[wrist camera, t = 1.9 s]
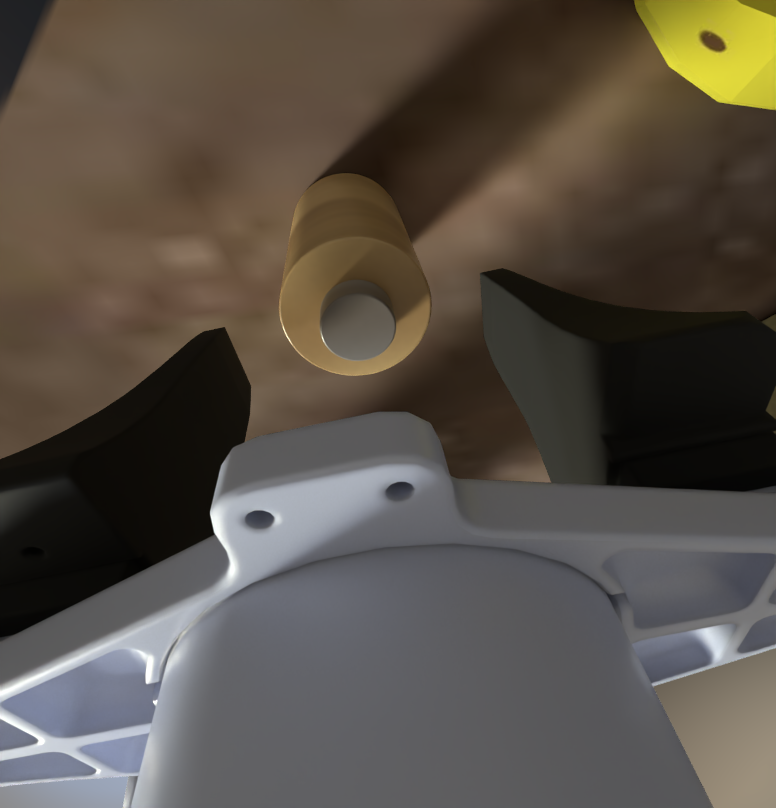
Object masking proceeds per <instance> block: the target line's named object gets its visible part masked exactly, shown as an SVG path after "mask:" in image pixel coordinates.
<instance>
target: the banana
mask: <svg viewBox="0 0 776 808" xmlns="http://www.w3.org/2000/svg"><path fill="white" fill-rule="evenodd" d="M634 2H635V7H636V11H637V12H638V14H639V16H640V17H641V19H642V21H643V23H644V24H645V26H646V28H647V29H648V31H649V33H650V35H651V36H652V38H653V40H654V42H655V43H656V45H657V47H658V48H659V50H660V52H661V54H662V55H663V57H664V59H665V60H666V62H667V64H668V66H669V67H671V68H672V69H673V70H675V71H676V72H677V73H679V74H680V75H682V76H683V77H684V78H686V79H687V80H688V81H690V82H691V83H693V84H694V85H695V86H697V87H698V88H699V89H701V90H702V91H704V92H705V93H706V94H708V95H709V96H710V97H712V98H713V99H715V100H716V101H717V102H721V103H728V104H735V105H743V106H750V107H757V108H764V109H771V110H776V0H634Z"/></svg>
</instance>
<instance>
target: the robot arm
mask: <svg viewBox="0 0 776 808" xmlns="http://www.w3.org/2000/svg"><path fill="white" fill-rule="evenodd" d="M480 280H481V297H482V314H483V331H484V339H485V342H486V344H487V347H488V350H489V353H490V355H491V358H492V360H493V363H494V365H495V367H496V369H497V370H498V372H499V374H500V376H501V378H502V379H503V381H504V383H505V385H506V386H507V388H508V390H509V392H510V393H511V395H512V397H513V399H514V400H515V402H516V404H517V406H518V407H519V409H520V411H521V412H522V414H523V416H524V418H525V420H526V422H527V424H528V426H529V428H530V430H531V432H532V435H533V437H534V440H535V442H536V445H537V447H538V449H539V452H540V454H541V457H542V459H543V462H544V464H545V467H546V470H547V472H548V475H549V477H550V480H551V482H552V483H544V482H522V481H501V480H479V479H458V478H455V477H452V476H451V475H450V473H449V470H448V466H447V463H446V459H445V456H444V452H443V448H442V445H441V441H440V439H439V438H438V436H437V434H436V432H435V431H434V429H433V427H432V425H431V423H429V422H427V421H425V420H423V419H421V418H419V417H417V416H415V415H413V414H411V413H409V412H375V413H370V414H365V415H360V416H355V417H350V418H345V419H340V420H336V421H331V422H326V423H321V424H316V425H311V426H306V427H301V428H297V429H292V430H287V431H282V432H277V433H272V434H267V435H262V436H258V437H255V438H253V439H251V440H249V441H246V442H244V441H245V437H246V432H247V426H248V421H249V416H250V402H251V385H250V383H249V380H248V378H247V376H246V374H245V371H244V369H243V367H242V365H241V363H240V360H239V358H238V356H237V354H236V351H235V349H234V347H233V345H232V342H231V340H230V338H229V336H228V333H227V331H226V329H225V327H223V328H218V329H214V330H209V331H204V332H202V333H200V334H199V335H197V336H196V337H195V338H193V339H192V340H191V341H190V342H188V343H187V344H186V345H185V346H184V347H183V348H181V349H180V350H179V351H178V352H177V353H176V354H174V355H173V356H172V357H171V358H170V359H169V360H168V361H166V362H165V363H164V364H163V365H162V366H161V367H159V368H158V369H157V370H156V371H155V372H153V373H152V374H151V375H150V376H148V377H147V378H146V379H145V380H143V381H142V382H141V383H140V384H138V385H137V386H136V387H135V388H133V389H132V390H131V391H129V392H128V393H126V394H125V395H124V396H122V397H121V398H119V399H118V400H116V401H115V402H113V403H112V404H110V405H109V406H107V407H106V408H104V409H102V410H101V411H99V412H98V413H96V414H94V415H92V416H90V417H89V418H87V419H85V420H83V421H82V422H80V423H78V424H76V425H74V426H73V427H71V428H69V429H67V430H65V431H63V432H61V433H59V434H57V435H55V436H53V437H51V438H49V439H47V440H45V441H43V442H40V443H38V444H36V445H34V446H31V447H29V448H27V449H25V450H22V451H20V452H18V453H15V454H13V455H10V456H7V457H5V458H2V459H0V787H2V786H11V785H19V784H28V783H41V782H52V781H65V780H80V779H95V778H110V777H125V776H129V777H128V782H127V787H126V793H125V797H124V803H123V808H713V806H712V804H711V802H710V800H709V798H708V796H707V794H706V792H705V790H704V788H703V786H702V784H701V782H700V780H699V778H698V776H697V774H696V772H695V770H694V768H693V766H692V764H691V762H690V760H689V758H688V756H687V754H686V752H685V750H684V748H683V746H682V744H681V742H680V740H679V738H678V736H677V734H676V732H675V730H674V728H673V726H672V724H671V722H670V720H669V718H668V716H667V714H666V712H665V710H664V708H663V706H662V704H661V702H660V700H659V698H658V696H657V694H656V692H655V690H654V688H653V686H656V685H659V684H662V683H665V682H668V681H672V680H675V679H678V678H681V677H685V676H687V675H691V674H694V673H697V672H701V671H704V670H707V669H710V668H713V667H717V666H720V665H722V664H726V663H729V662H732V661H736V660H739V659H742V658H745V657H748V656H752V655H755V654H758V653H761V652H764V651H768V650H771V649H774V648H776V434H775V433H774V432H773V431H776V419H775V418H774V417H773V416H771V415H770V414H769V413H768V412H767V411H766V409H767V406H768V404H769V401H770V399H771V397H772V394H773V392H774V389H775V387H776V331H774V330H773V329H771V328H770V327H768V326H767V325H765V324H764V323H762V322H761V321H759V320H758V319H756V318H755V317H754V316H752V315H751V314H749V313H748V312H746V311H732V312H671V311H656V310H645V309H638V308H630V307H623V306H617V305H611V304H607V303H602V302H598V301H593V300H589V299H585V298H582V297H578V296H575V295H572V294H569V293H566V292H563V291H560V290H557V289H554V288H552V287H549V286H547V285H544V284H542V283H539V282H537V281H534V280H532V279H529V278H527V277H525V276H522V275H520V274H517V273H515V272H512V271H510V270H507V269H503V268H501V269H497V270H492V271H487V272H483V273H480Z"/></svg>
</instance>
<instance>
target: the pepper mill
mask: <svg viewBox="0 0 776 808" xmlns="http://www.w3.org/2000/svg"><path fill="white" fill-rule="evenodd" d="M431 306H432V304H431V294H430V289H429V285H428V283H427V280H426V277H425V275H424V273H423V270H422V268H421V265H420V263H419V260H418V258H417V256H416V253H415V251H414V248H413V246H412V243H411V241H410V239H409V236H408V234H407V231H406V229H405V226H404V224H403V222H402V219H401V217H400V214H399V212H398V210H397V207H396V205H395V203H394V201H393V199H392V198H391V197H390V195H389V194H388V193H387V192H386V191H385V189H384V188H383V187H381V186H380V185H379V184H378V183H376V182H374V181H373V180H371V179H369V178H367V177H365V176H361V175H358V174H352V173H340V174H333V175H330V176H327V177H325V178H322V179H320V180H319V181H317V182H316V183H314V184H313V185H312V186H310V187H309V188H308V189H307V190H306V192H305V193H304V194H303V195H302V197H301V198H300V200H299V202H298V204H297V206H296V209H295V212H294V216H293V222H292V227H291V233H290V239H289V245H288V251H287V257H286V263H285V268H284V274H283V280H282V286H281V292H280V298H279V314H280V320H281V324H282V327H283V330H284V332H285V334H286V336H287V338H288V340H289V341H290V343H291V344H292V346H293V347H294V348H295V349H296V351H297V352H298V353H299V354H301V355H302V356H303V357H304V358H305V359H306V360H308V361H309V362H310V363H312V364H314V365H316V366H317V367H319V368H322V369H324V370H326V371H330V372H333V373H337V374H342V375H366V374H372V373H376V372H380V371H382V370H385V369H388V368H390V367H392V366H394V365H396V364H397V363H399V362H400V361H402V360H403V359H404V358H406V357H407V356H408V355H409V354H410V353H411V352H412V351H413V350H414V349H415V348H416V347H417V345H418V344H419V342H420V341H421V339H422V338H423V336H424V334H425V332H426V329H427V327H428V324H429V320H430V316H431Z"/></svg>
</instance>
